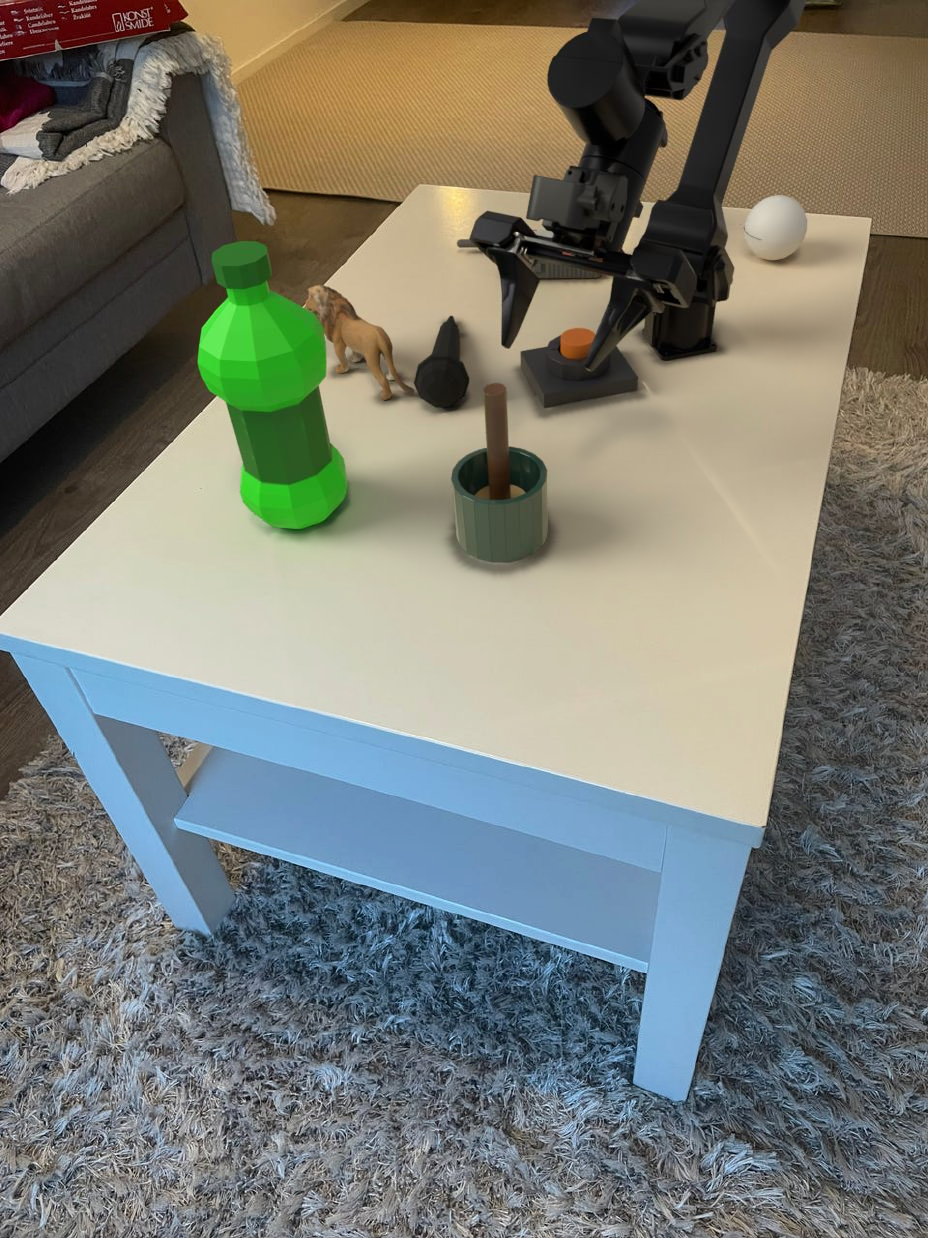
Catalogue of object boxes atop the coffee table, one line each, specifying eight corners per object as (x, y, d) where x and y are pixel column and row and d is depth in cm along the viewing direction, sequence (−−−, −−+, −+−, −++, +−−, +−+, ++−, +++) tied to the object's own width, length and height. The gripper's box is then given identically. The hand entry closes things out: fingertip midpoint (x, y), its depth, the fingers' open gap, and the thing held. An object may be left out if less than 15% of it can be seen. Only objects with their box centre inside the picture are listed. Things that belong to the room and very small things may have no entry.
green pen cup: (533, 501, 89) (532, 438, 84) (558, 557, 83) (559, 493, 78) (448, 518, 88) (442, 455, 83) (468, 576, 82) (463, 512, 77)
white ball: (804, 246, 120) (816, 186, 115) (797, 273, 116) (809, 212, 110) (723, 239, 123) (731, 180, 118) (713, 265, 118) (721, 205, 113)
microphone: (439, 347, 115) (425, 425, 99) (420, 303, 112) (403, 376, 96) (481, 332, 113) (475, 408, 98) (464, 286, 110) (454, 358, 95)
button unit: (608, 352, 106) (609, 319, 103) (636, 395, 100) (639, 361, 97) (520, 369, 105) (519, 335, 102) (544, 413, 99) (543, 379, 96)
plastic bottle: (311, 465, 95) (255, 212, 77) (378, 511, 89) (335, 249, 71) (225, 514, 90) (145, 256, 73) (291, 565, 85) (221, 300, 67)
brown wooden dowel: (521, 510, 87) (516, 367, 77) (535, 543, 84) (533, 399, 73) (469, 520, 86) (457, 378, 76) (482, 554, 83) (471, 411, 73)
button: (589, 340, 101) (589, 325, 100) (600, 357, 99) (600, 341, 97) (556, 346, 101) (556, 331, 99) (566, 363, 98) (566, 348, 97)
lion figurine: (303, 367, 108) (287, 291, 102) (336, 346, 111) (323, 271, 104) (398, 408, 101) (388, 330, 95) (432, 385, 104) (424, 307, 97)
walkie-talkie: (612, 247, 124) (458, 249, 126) (614, 213, 121) (456, 216, 123) (611, 279, 118) (450, 281, 120) (613, 244, 114) (447, 246, 117)
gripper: (474, 107, 75) (408, 300, 77) (697, 140, 67) (619, 355, 69) (527, 174, 85) (467, 344, 87) (727, 209, 77) (658, 395, 79)
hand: (545, 358), depth 80 cm, fingers open, 8 cm apart
